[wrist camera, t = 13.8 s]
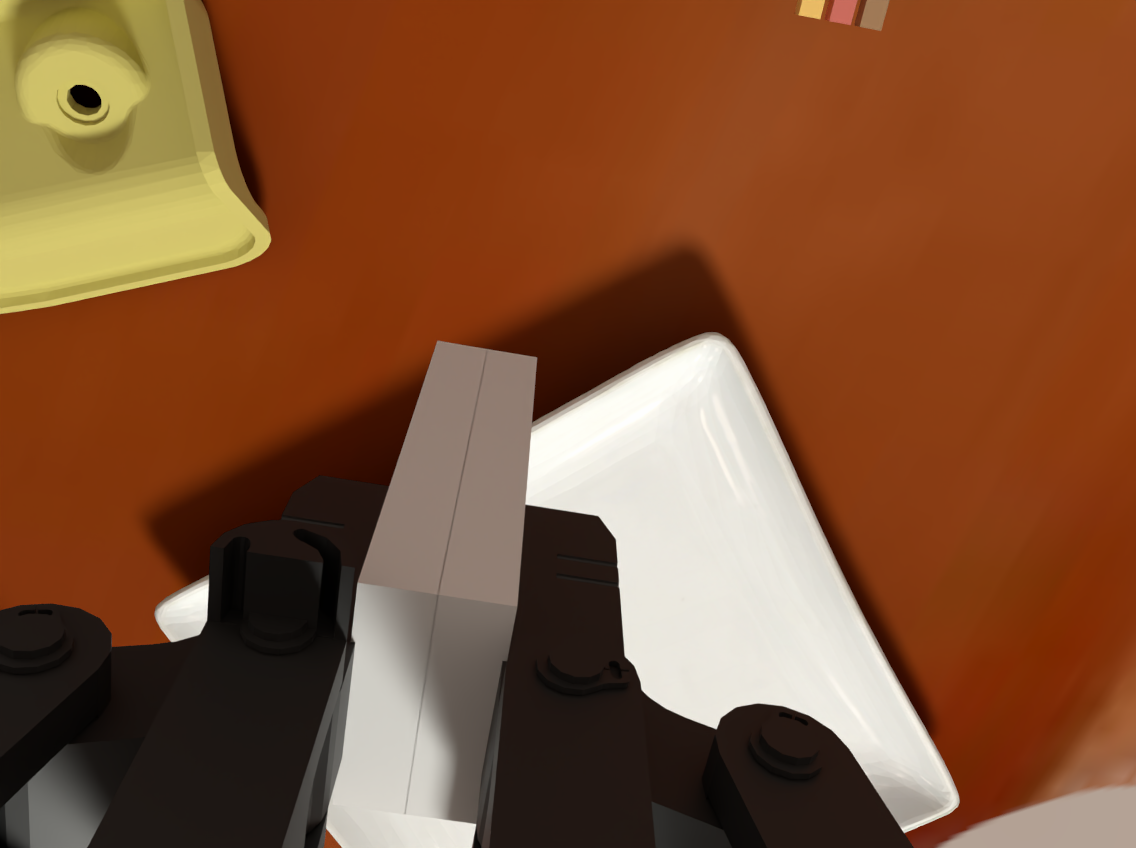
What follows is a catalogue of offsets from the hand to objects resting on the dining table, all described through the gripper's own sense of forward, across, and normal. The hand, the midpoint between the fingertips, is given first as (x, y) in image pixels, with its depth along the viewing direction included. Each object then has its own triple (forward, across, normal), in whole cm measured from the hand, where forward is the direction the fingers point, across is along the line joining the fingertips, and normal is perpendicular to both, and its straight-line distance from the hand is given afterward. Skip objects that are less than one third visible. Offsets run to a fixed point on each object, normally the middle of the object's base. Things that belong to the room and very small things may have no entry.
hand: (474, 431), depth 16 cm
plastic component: (+27, +20, +3) cm, 33 cm away
